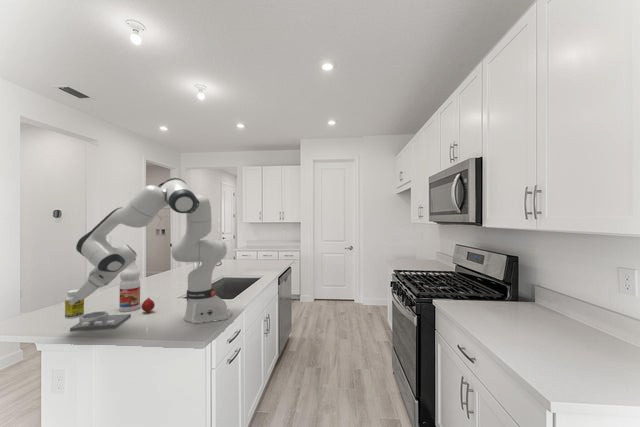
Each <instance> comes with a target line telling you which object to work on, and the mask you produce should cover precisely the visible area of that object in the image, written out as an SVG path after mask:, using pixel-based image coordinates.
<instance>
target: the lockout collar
mask: <svg viewBox="0 0 640 427" xmlns="http://www.w3.org/2000/svg"><path fill="white" fill-rule="evenodd" d="M108 315H109V311H106V310H105V311H93V312H89V313H84V315H83V316H81V317H78V318H79V321H78V323H81V324H82V323H84V322H90V324H94V323H95V322H96V321H102V322H103V321H105V320H106V319H108Z"/></svg>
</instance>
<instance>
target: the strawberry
mask: <svg viewBox="0 0 640 427" xmlns="http://www.w3.org/2000/svg"><path fill="white" fill-rule="evenodd" d="M154 308H155V301H154V300H152V299H151V298H150V297H147V298H146V299H145V300H144V301H142V304H141V309H142V311H143V312H145V313H147V314H149V313H150V312H151V311H153V309H154Z"/></svg>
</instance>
